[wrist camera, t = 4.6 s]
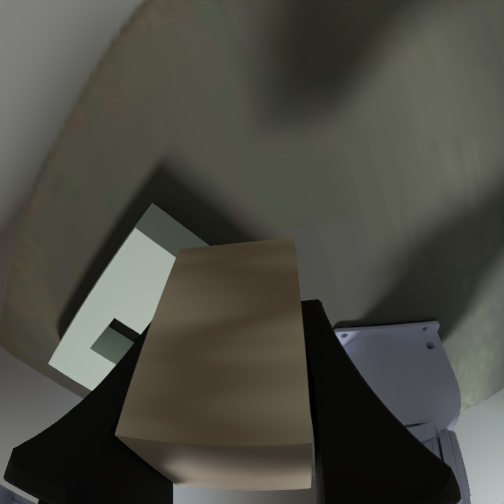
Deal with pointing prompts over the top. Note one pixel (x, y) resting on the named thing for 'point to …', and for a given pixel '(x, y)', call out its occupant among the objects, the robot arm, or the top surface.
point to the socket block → (122, 298)
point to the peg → (225, 373)
